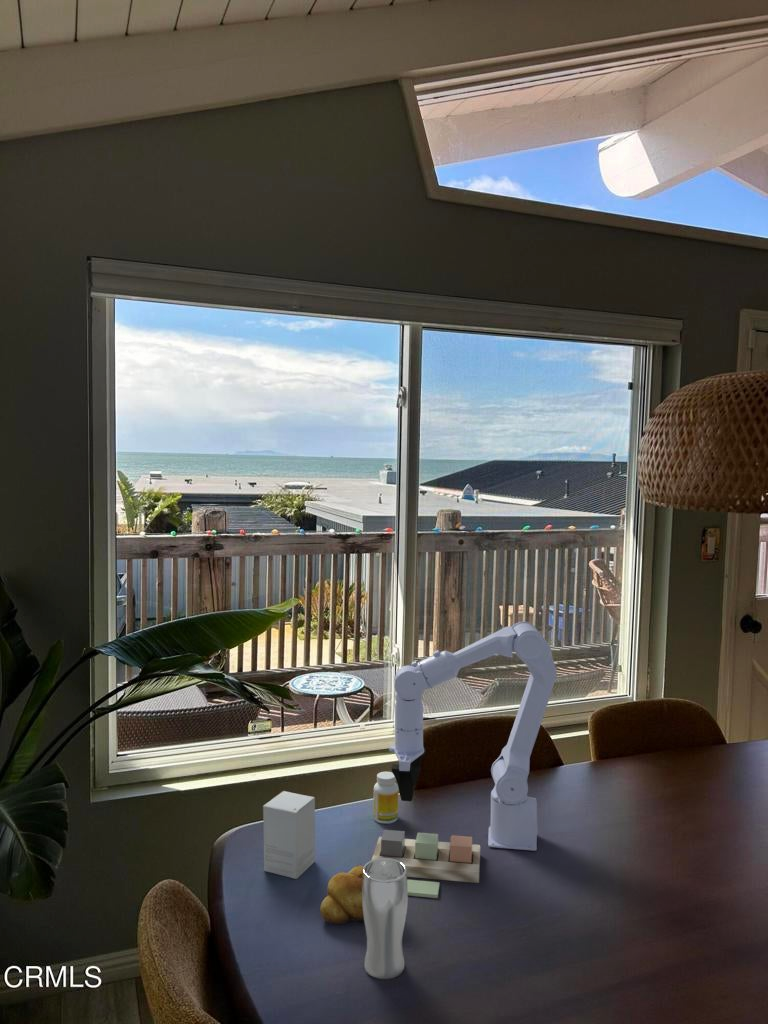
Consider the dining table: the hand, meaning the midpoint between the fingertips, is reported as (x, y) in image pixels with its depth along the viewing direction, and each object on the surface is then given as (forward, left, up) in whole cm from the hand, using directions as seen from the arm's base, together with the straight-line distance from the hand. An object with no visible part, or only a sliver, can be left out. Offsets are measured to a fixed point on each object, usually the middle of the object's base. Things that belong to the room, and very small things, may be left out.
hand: (409, 792), depth 149 cm
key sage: (-5, +10, -7) cm, 13 cm away
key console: (-5, +10, -10) cm, 14 cm away
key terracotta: (-11, +10, -8) cm, 16 cm away
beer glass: (-1, +40, -10) cm, 41 cm away
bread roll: (+6, +27, -10) cm, 29 cm away
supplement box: (+21, +15, -10) cm, 27 cm away
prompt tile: (-5, +19, -10) cm, 21 cm away
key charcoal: (+2, +10, -7) cm, 12 cm away
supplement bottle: (+6, -7, -10) cm, 14 cm away
